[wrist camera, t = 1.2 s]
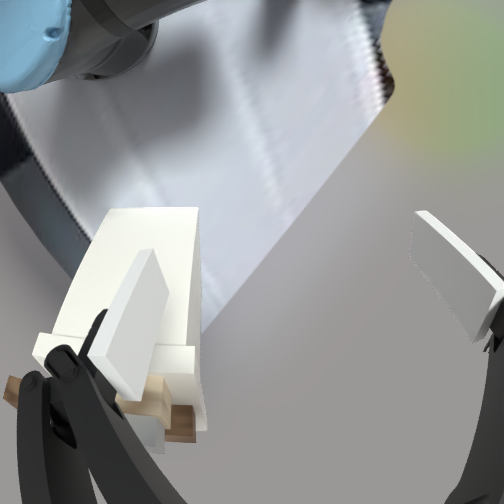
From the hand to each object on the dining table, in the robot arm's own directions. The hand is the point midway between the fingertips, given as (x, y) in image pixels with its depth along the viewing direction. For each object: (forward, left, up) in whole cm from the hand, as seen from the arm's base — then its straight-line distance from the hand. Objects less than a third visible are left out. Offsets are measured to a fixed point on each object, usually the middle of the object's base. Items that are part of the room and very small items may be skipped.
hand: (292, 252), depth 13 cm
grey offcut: (+6, -21, +3) cm, 22 cm away
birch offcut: (+6, -21, -1) cm, 22 cm away
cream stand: (+10, -28, -31) cm, 44 cm away
